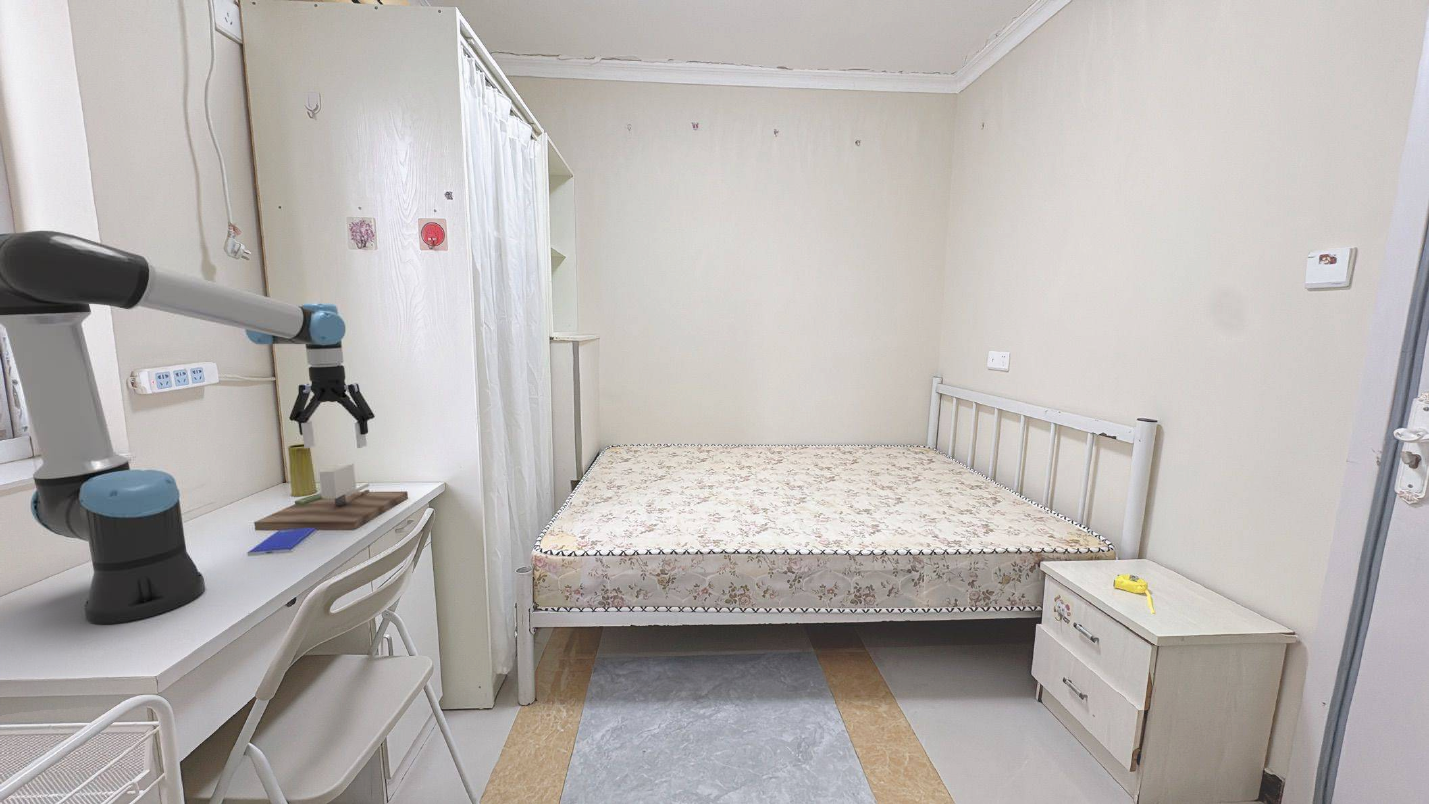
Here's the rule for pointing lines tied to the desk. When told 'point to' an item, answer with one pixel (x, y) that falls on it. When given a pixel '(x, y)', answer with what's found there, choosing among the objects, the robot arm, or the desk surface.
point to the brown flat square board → (332, 512)
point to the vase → (301, 470)
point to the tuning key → (339, 483)
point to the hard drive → (282, 541)
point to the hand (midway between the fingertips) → (335, 447)
